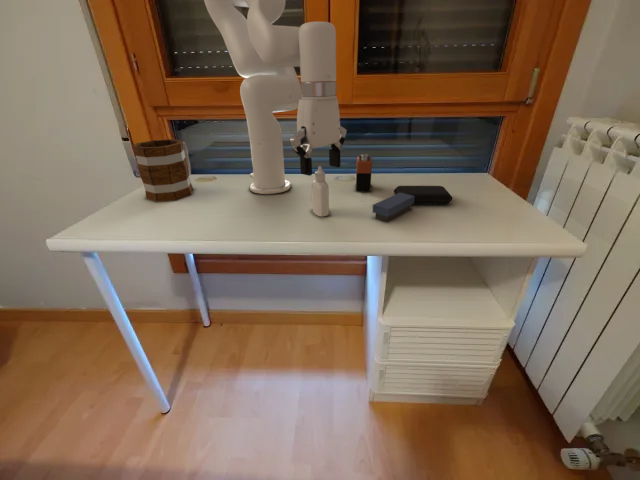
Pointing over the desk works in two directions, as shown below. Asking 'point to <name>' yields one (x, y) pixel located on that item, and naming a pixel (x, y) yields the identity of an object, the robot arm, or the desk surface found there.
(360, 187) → the battery
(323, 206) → the eye dropper bottle
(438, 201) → the carrying case
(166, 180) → the mug
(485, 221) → the desk surface
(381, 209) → the navy rectangular block
